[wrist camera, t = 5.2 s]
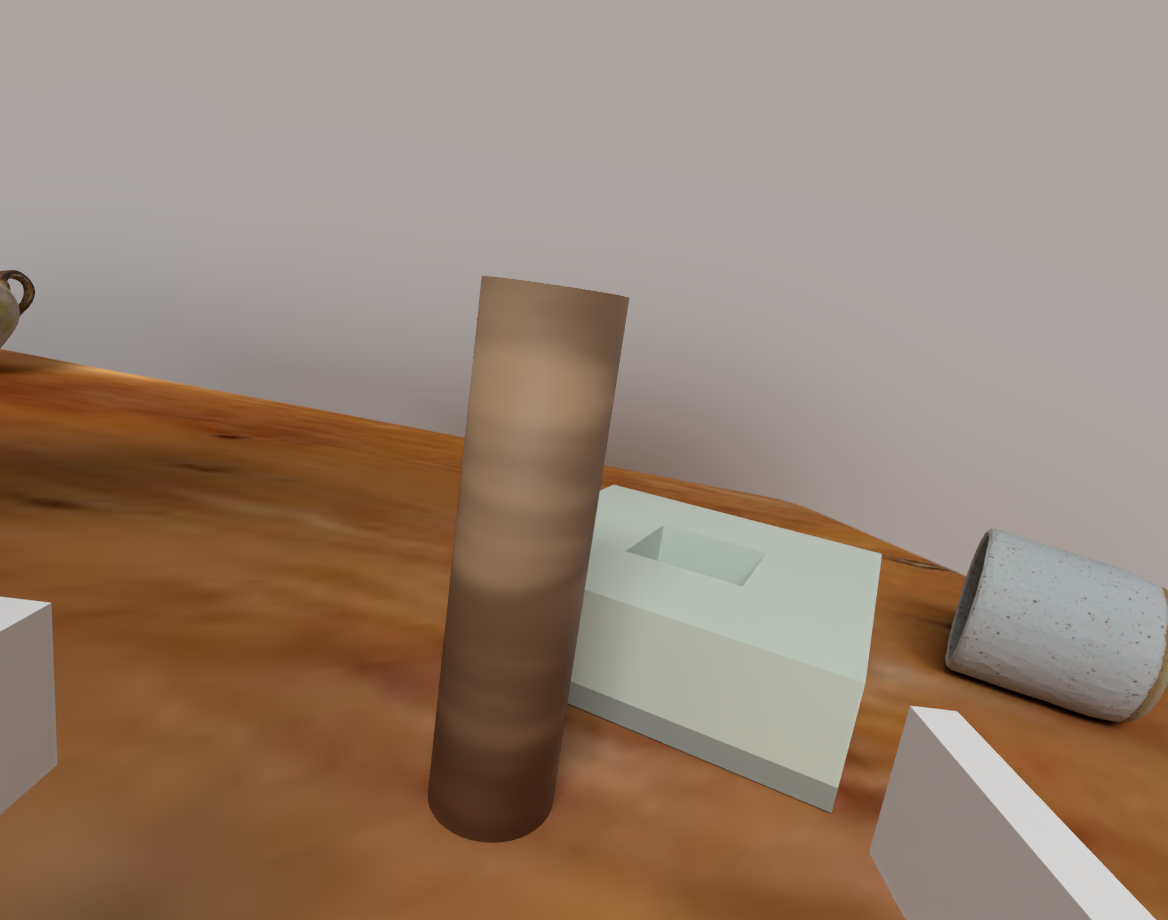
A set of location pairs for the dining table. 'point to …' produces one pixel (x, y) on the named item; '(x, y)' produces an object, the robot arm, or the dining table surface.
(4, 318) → the sugar bowl
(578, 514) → the dowel
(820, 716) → the socket block
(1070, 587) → the ceramic mug
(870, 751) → the dining table surface
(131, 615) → the dining table surface
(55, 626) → the dining table surface
